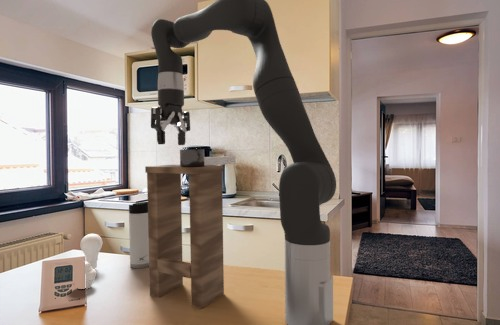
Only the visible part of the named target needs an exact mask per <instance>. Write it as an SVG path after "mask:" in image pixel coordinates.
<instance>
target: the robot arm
mask: <svg viewBox="0 0 500 325" xmlns="http://www.w3.org/2000/svg"><path fill="white" fill-rule="evenodd" d="M214 31H229V32H232V33H233V34H237V35H240V36H244V37H246V38H247V39H248V40H249V42H250V44H251V46H252V49H253V51H254V54H255V59H256V63H255V69H254V74H253V80H252V87H253V92H254V95H255V99H256V101H257V104H258V107H259V110H260V112H261V114H262V116H263V118H264V119H265V120H266V122H267V123H268V125H269V126H270V128H272V130H273V131H274V132H275V133H276V134H277V136H278V137H279V138H280V139H281V140H282V142H283V143H284V145H285V146H286V148H287V150H288V152H289V154H290V157H291V159H292V160H291V161H292V162H293V163H290V164H288V165H287V166H286V167H285V168H284V169H283V170H282V172H281V174H280V178H279V181H278V182H279V183H278V192H279V193H278V198H279V214H280V215H279V216H280V223H281V227H282V230H283V232H284V306H285V307H284V315H285V316H284V317H285V318H284V319H285V323H286V324H287V325H331V324H332V322H333V321H334V275H333V274H331V231H330V230H331V229H330V226H329V225H327V224H326V223H323V222H322V220H321V211H320V209H321V208H320V205H322V204H325V203H328V202H329V201H331V200H332V199H333V197H334V196H335V193H336V191H337V190H336V189H337V179H336V176H335V172H334V169H333V168H332V165H331V164H330V161H329V160H328V158H327V156H326V154H325V152H324V151H323V148H322V147H321V144H320V142H319V140H318V138H317V136H316V133H315V131H314V129H313V125H312V123H311V121H310V118H309V115H308V113H307V110H306V108H305V105H304V103H303V100H302V97H301V94H300V91H299V87H298V86H297V83H296V81H295V78H294V76H293V74H292V72H291V69H290V67H289V63H288V60H287V58H286V54H285V53H284V50H283V47H282V44H281V42H280V38H279V34H278V29H277V26H276V23H275V18H274V15H273V11H272V9H271V7H270V4H269V3H268V1H267V0H214V1H213V2H212V3H210V4H209V5H206V6H205V7H203V8H202V9H200V10H198V11H196V12H192V13H188V14H186V15H183V16H180V17H178V18H177V19H176V20H175V21H170V20H167V19H165V18H158V19H156V20H155V21H153V24H152V26H151V32H150V33H151V40H152V43H153V47H154V50H155V54H156V58H157V65H158V68H157V70H158V72H157V73H158V76H157V105H158V106H152V107H151V110H150V128H151V129H154V130H155V131H156V142H157V144H158V145H166V131H165V130H166V129H167V126H169V125H173V126H174V128H176V130H177V132H178V133H177V145H178V146H185V145H186V133H187V132H190V131H191V119H190V118H191V116H190V112H189V111H183V107H184V106H185V84H184V82H185V81H184V77H183V73H184V72H183V70H184V69H183V58H182V56H181V55H180V54H178V53H176V52H175V51H173V50H172V48H174V49H184V48H185V47H187V46H189V45H190V44H191V43H194V42H199V41H202V40H204V39H206V38H208V37H209V36H210V35H211V34H212V32H214Z"/></svg>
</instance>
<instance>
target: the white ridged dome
mask: <svg viewBox="0 0 500 325" xmlns="http://www.w3.org/2000/svg"><path fill="white" fill-rule="evenodd" d="M84 262H85V274H86V289H85V290H88V288H89V289H90V288H91V287H92V286H93V284H94V281H95V279H96V275H97V271H96V270H95V269H96V268H95V269H93V268H92V267H91V264H90V263H89V262H87V261H84Z"/></svg>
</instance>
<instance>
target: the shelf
mask: <svg viewBox="0 0 500 325" xmlns="http://www.w3.org/2000/svg"><path fill="white" fill-rule="evenodd" d="M144 168H145V173H146V180H147V181H146V184H147V192H146V193H147V202H148V236H149V266H148V270H149V271H148V273H149V275H148V276H149V296H152V297H156V298H161V297H163V296H164V295H167V294H168V293H170V292H172V291H174V290H176V289H177V288H179V287H182V286H183V285H184V283H183V282H184V278H186V279H190V286H191V287H190V290H191V291H190V293H191V294H190V295H191V307H194V308H198V309H200V310H201V309H204V308H206V307H207V306H208V305H211V303H213V302H215V301H216V300H217V299H219V298H220V297H222V296H223V295H225V287H224V286H225V285H224V282H225V281H224V278H225V276H224V219H223V218H224V217H223V216H224V213H223V212H224V211H223V208H224V207H223V172H224V165H212V166H204V167H180V164H163V165H148V166H144ZM182 175H188V183H189V185H188V188H189V189H188V190H189V232H190V233H189V238H190V239H189V240H190V244H189V246H190V262H188V261H183V229H182V228H183V225H182V224H183V223H182V222H183V221H182V218H183V217H182Z"/></svg>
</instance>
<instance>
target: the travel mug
mask: <svg viewBox="0 0 500 325" xmlns="http://www.w3.org/2000/svg"><path fill="white" fill-rule="evenodd" d="M128 222H129V223H128V225H129V226H128V227H129V230H128V231H129V260H130V261H129V264H130V268H133V269H143V268H146V267H149V236H148V201H141V202H136V203H135V202H134V203H132V204H129V205H128Z"/></svg>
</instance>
